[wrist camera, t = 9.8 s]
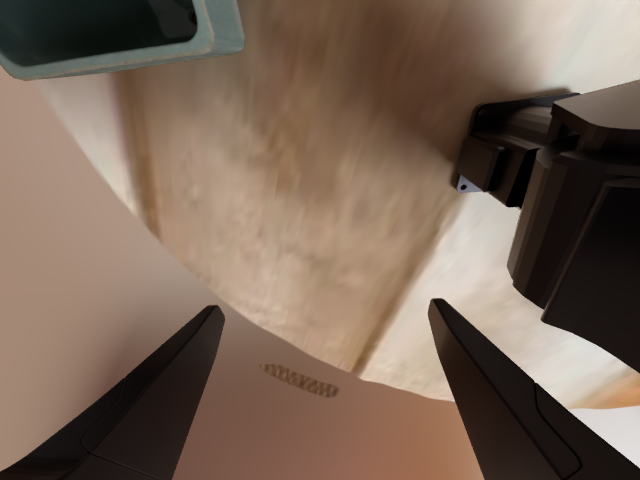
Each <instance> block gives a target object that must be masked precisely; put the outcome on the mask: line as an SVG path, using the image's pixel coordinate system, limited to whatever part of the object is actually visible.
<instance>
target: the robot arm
mask: <svg viewBox="0 0 640 480" xmlns="http://www.w3.org/2000/svg"><path fill="white" fill-rule="evenodd" d="M483 108H484V113H483V114H482V115H479V112H480V110H481V109H483ZM457 172H458V176H457V181H456V185H455V189H456V190H457V191H458V192H460V193H467V192H480V191H483V192H488V193H489V194H490V195H492V196H493V197H494V198H496V199H497V200H498V201H500V202H501V203H502V204H504V205H505V206H506V207H516V208H518V209H519V210H521V213H520V216H519V220H518V224H517V227H516V231H515V235H514V238H513V242H512V246H511V250H510V253H509V257H508V262H507V268H508V270H509V273H510V275H511V278H512V279H513V286H514V287H515V288H516V289H517V290H518V291H519V292H520V293H521V294H522V295H523V296H524V297H525V298H527V299H528V300H530V301H531V302H533V303H534V304H535V305H537V306H538V307H540V308H542V309H544V312H543V314H542V316H541V321H542V322H544V323H546V324H548V325H551V326H554V327H557V328H560V329H563V330H566V331H569V332H571V333H573V334H575V335H577V336H579V337H582V338H584V339H586V340H588V341H590V342H592V343H594V344H596V345H598V346H599V347H601V348H602V349H604V350H606V351H607V352H609V353H610V354H612V355H614V356H615V357H617V358H618V359H620V360H621V361H622V362H624V363H625V364H627V365H628V366H630V367H631V368H633V369H634V370H636V371H637V372H638V373H640V80H637V81H633V82H629V83H625V84H621V85H617V86H613V87H609V88H605V89H601V90H597V91H593V92H589V93H585V94H580V93H572V92H571V93H562V94H554V95H546V96H538V97H530V98H522V99H513V100H505V101H497V102H489V103H482V104H479V105H478V106H476V107H475V109H474V111H473V113H472V117H471V122H470V126H469V130H468V134H467V136H466V137H465V139H464V141H463V145H462V150H461V154H460V158H459V162H458V167H457ZM464 184H465V186H464V187H463V188H460V187H461V186H462V185H464ZM428 318H429V322H430V326H431V330H432V334H433V337H434V341H435V345H436V349H437V353H438V356H439V359H440V362H441V365H442V367H443V370H444V373H445V375H446V378H447V381H448V383H449V386H450V389H451V391H452V394H453V397H454V399H455V402H456V404H457V407H458V410H459V413H460V415H461V418H462V421H463V423H464V426H465V429H466V431H467V434H468V436H469V439H470V442H471V445H472V447H473V450H474V453H475V455H476V458H477V460H478V463H479V466H480V469H481V471H482V474H483V477H484V479H485V480H640V468H639V467H637V466H636V465H635V464H634V463H632V462H631V461H629V459H627V458H626V457H625V456H624V455H622V454H621V453H620V452H618V451H617V450H616V449H615V448H613V447H612V446H611V445H610V444H608V443H607V442H606V441H605V440H603V439H602V438H601V437H600V436H598V435H597V434H596V433H595V432H594V431H592V430H591V429H590V428H589V427H587V426H586V425H585V424H584V423H583V422H581V421H580V420H579V419H577V418H576V417H575V416H574V415H573V414H571V413H570V412H569V411H568V410H567V409H566V408H565V407H563V406H562V405H561V404H560V403H559V402H558V401H557V400H555V399H554V398H553V397H552V396H551V395H550V394H549V393H548V392H546V391H545V390H544V389H543V388H542V387H541V386H540V385H539V384H537V383H535V382H534V380H533V379H532V378H531V377H530V376H528V375H527V374H526V373H525V372H524V371H523V370H522V369H521V368H520V367H519V366H517V365H516V364H515V363H514V362H513V361H512V360H511V359H510V358H509V357H507V356H506V355H505V354H504V353H503V352H502V351H501V350H500V349H499V348H497V347H496V346H495V345H494V344H493V343H492V342H491V341H490V340H489V339H487V338H486V337H485V336H484V335H483V334H482V333H481V332H480V331H479V330H477V329H476V328H475V327H474V326H473V325H472V324H471V323H470V322H469V321H467V320H466V319H465V318H464V317H463V316H462V315H461V314H460V313H459V312H457V311H456V310H455V309H454V308H453V307H452V306H451V305H450V304H449V303H447V302H446V301H445V300H444V299H442V298H433V299H431V301H430V305H429V309H428ZM224 322H225V316H224V314H223V313H222V311H221V309H220V307H219V306H218V305H208V306H207V307H205V308H204V309H203V310H202V311H201V312H200V313H199V314H197V315H196V316H195V317H194V318H193V319H192V320H190V321H189V322H188V323H187V324H186V325H185V326H184V327H182V328H181V329H180V330H179V331H178V332H177V333H175V334H174V335H173V336H172V337H171V338H169V339H168V340H167V341H166V342H165V343H164V344H163V345H161V346H160V347H159V348H158V349H157V350H156V351H154V352H153V353H152V354H151V355H150V356H149V357H147V358H146V359H145V360H144V361H143V362H142V363H141V364H139V365H138V366H137V367H136V368H135V369H134V370H132V372H130V373H129V374H128V375H127V376H126V377H125V378H123V379H122V380H121V381H120V382H118V383H117V384H116V385H115V386H114V387H113V388H111V390H109V391H108V392H107V393H106V394H104V395H103V396H102V397H101V398H100V399H98V400H97V401H96V402H95V403H93V404H92V405H91V406H90V407H88V408H87V409H86V410H85V411H83V412H82V413H81V414H80V415H78V416H77V417H76V418H74V419H73V420H72V421H71V422H69V423H68V424H67V425H66V426H64V427H63V428H62V429H61V430H59V431H58V432H57V433H55V434H54V435H53V436H51V437H50V438H49V439H48V440H46V441H45V442H44V443H42V444H41V445H40V446H39V447H37V448H36V449H35V450H33V451H32V452H31V453H29V454H28V455H27V456H25V457H24V458H22V459H21V460H19V461H18V462H16V463H15V464H13V465H11V466H10V467H8V468H6V469H4V470H2V471H1V472H0V480H172V478H173V475H174V472H175V469H176V466H177V464H178V461H179V458H180V455H181V452H182V450H183V447H184V444H185V441H186V438H187V436H188V433H189V430H190V427H191V424H192V422H193V419H194V416H195V413H196V410H197V407H198V405H199V402H200V399H201V396H202V394H203V391H204V388H205V385H206V383H207V380H208V377H209V374H210V371H211V369H212V366H213V363H214V360H215V357H216V354H217V350H218V346H219V342H220V339H221V334H222V330H223V326H224Z"/></svg>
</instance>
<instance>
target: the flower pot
mask: <svg viewBox="0 0 640 480" xmlns="http://www.w3.org/2000/svg"><path fill="white" fill-rule="evenodd" d="M195 13H196V17H197V25H196V24H195V23H194V22H193V20H192V16H193V14H195ZM244 45H245V36H244V30H243V26H242V22H241V17H240V13H239V8H238V3H237V0H0V65H1V66H2V67H3V68H4V70H6V71H7V73H9V75H11V76H12V77H13V78H16V79H20V80H24V81H30V80H37V79H48V78H59V77H69V76H79V75H89V74H99V73H108V72H116V71H122V70H128V69H135V68H141V67H148V66H155V65H162V64H169V63H176V62H183V61H190V60H197V59H203V58H210V57H218V56H225V55H232V54H236V53H238V52H240V51H241V50H242V49H243V48H244Z"/></svg>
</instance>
